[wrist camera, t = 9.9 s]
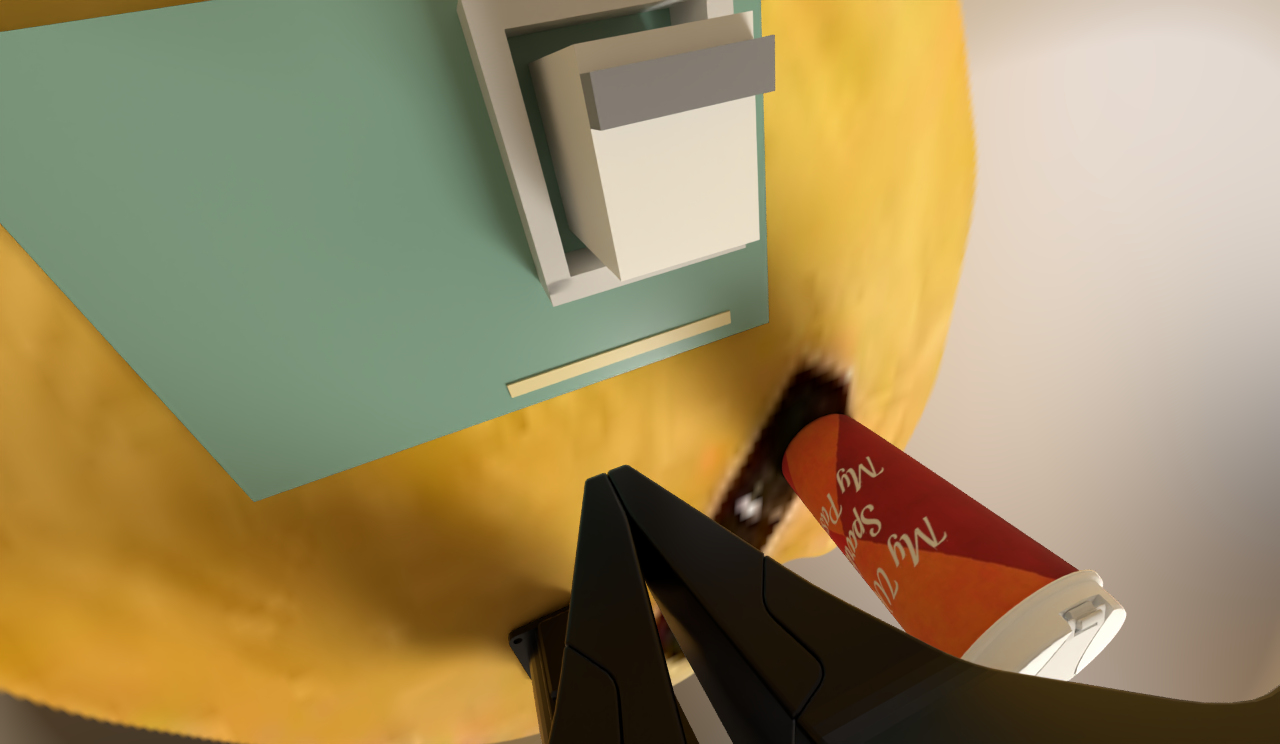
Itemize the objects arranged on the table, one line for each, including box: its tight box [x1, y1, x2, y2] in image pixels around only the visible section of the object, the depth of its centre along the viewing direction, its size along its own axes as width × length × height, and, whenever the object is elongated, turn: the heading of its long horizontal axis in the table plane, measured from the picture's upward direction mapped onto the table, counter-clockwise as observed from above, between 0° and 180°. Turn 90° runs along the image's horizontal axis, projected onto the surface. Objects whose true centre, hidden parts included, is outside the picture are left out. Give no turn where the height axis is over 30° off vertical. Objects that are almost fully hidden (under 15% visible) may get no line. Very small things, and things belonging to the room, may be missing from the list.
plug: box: [528, 11, 775, 282], centre depth 13 cm, size 5×4×7 cm
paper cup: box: [782, 413, 1126, 681], centre depth 24 cm, size 8×8×14 cm
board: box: [0, 0, 769, 502], centre depth 15 cm, size 14×22×4 cm, turn 100°
